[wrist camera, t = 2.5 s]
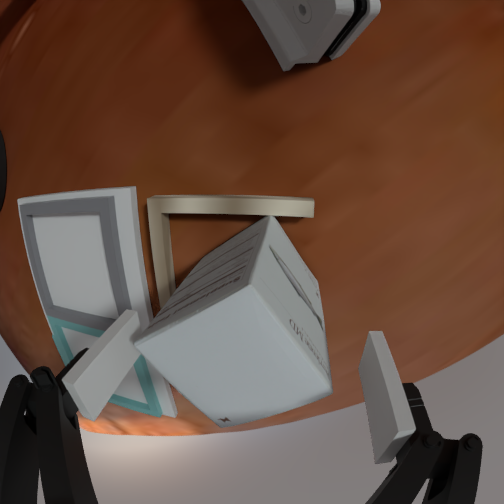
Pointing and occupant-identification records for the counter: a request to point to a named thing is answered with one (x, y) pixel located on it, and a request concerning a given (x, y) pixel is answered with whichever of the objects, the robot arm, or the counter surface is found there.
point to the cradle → (210, 205)
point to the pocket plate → (93, 279)
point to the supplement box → (244, 330)
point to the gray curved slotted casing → (311, 26)
